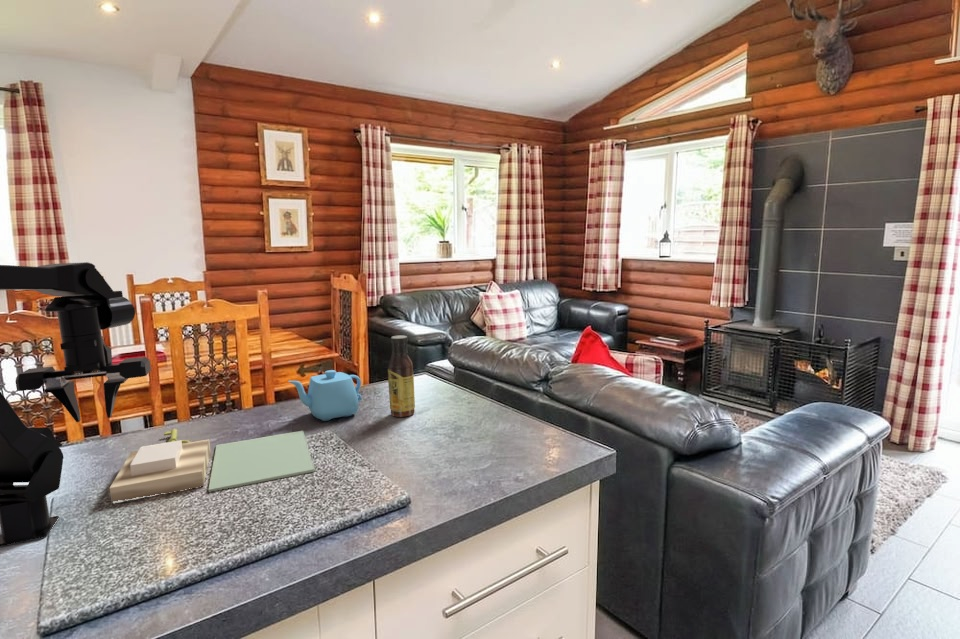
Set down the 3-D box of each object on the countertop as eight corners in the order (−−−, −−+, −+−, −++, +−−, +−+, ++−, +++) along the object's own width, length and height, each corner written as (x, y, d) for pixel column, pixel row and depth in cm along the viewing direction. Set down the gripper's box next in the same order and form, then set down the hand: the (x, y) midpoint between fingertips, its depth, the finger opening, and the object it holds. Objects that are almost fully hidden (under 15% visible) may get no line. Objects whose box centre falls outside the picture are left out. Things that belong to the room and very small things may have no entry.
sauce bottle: (387, 413, 134) (382, 335, 131) (411, 408, 137) (406, 333, 134) (394, 420, 128) (389, 339, 125) (419, 415, 131) (414, 336, 128)
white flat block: (176, 468, 97) (174, 457, 97) (131, 475, 94) (130, 465, 94) (182, 449, 106) (181, 440, 106) (142, 456, 104) (140, 446, 103)
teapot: (286, 416, 135) (282, 373, 133) (355, 403, 144) (351, 362, 142) (297, 430, 124) (293, 382, 123) (371, 414, 133) (367, 370, 132)
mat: (314, 471, 100) (314, 469, 100) (208, 492, 93) (208, 489, 93) (303, 432, 122) (303, 430, 122) (216, 447, 115) (216, 445, 115)
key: (177, 436, 125) (175, 427, 124) (194, 449, 116) (193, 439, 116) (142, 445, 120) (140, 436, 119) (157, 459, 111) (156, 449, 111)
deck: (203, 486, 96) (201, 471, 95) (112, 504, 90) (109, 488, 90) (210, 452, 112) (209, 439, 112) (133, 466, 107) (131, 451, 106)
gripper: (150, 323, 104) (160, 400, 106) (32, 333, 97) (46, 415, 99) (139, 331, 94) (151, 415, 96) (7, 342, 87) (22, 433, 89)
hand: (94, 419), depth 96 cm, fingers open, 4 cm apart
